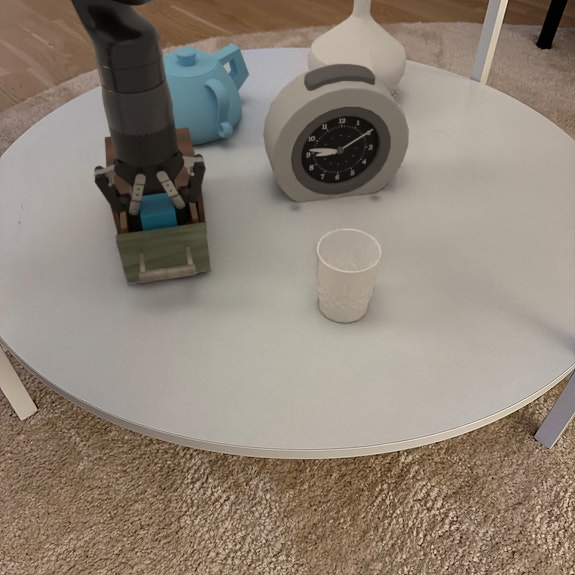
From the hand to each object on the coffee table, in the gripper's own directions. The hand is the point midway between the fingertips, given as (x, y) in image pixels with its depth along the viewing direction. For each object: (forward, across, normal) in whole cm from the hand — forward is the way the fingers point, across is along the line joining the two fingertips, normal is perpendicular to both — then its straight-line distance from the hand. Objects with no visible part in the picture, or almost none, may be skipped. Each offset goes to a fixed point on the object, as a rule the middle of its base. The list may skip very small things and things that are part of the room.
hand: (161, 227), depth 81 cm
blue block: (0, 0, 0) cm, 0 cm away
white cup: (+6, +22, -14) cm, 27 cm away
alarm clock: (+6, +28, +12) cm, 31 cm away
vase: (+6, +40, +38) cm, 56 cm away
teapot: (+6, +8, +36) cm, 38 cm away
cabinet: (+6, 0, +12) cm, 13 cm away
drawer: (+5, 0, 0) cm, 5 cm away
